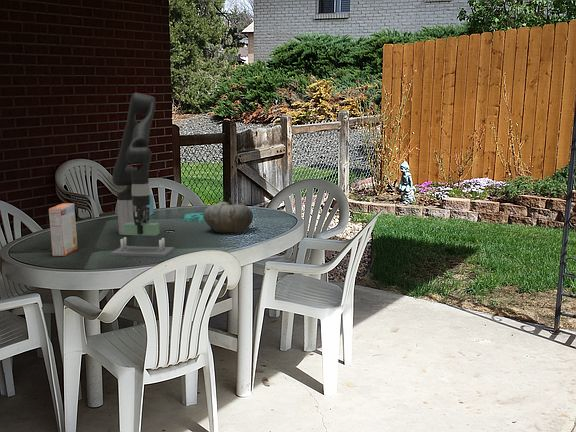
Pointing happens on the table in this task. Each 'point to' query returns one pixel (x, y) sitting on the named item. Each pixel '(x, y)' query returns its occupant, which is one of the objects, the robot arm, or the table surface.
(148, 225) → the green rectangular block
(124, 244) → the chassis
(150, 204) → the light blue block
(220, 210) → the gourd
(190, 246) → the table surface
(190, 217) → the alien figure
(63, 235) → the cracker box
